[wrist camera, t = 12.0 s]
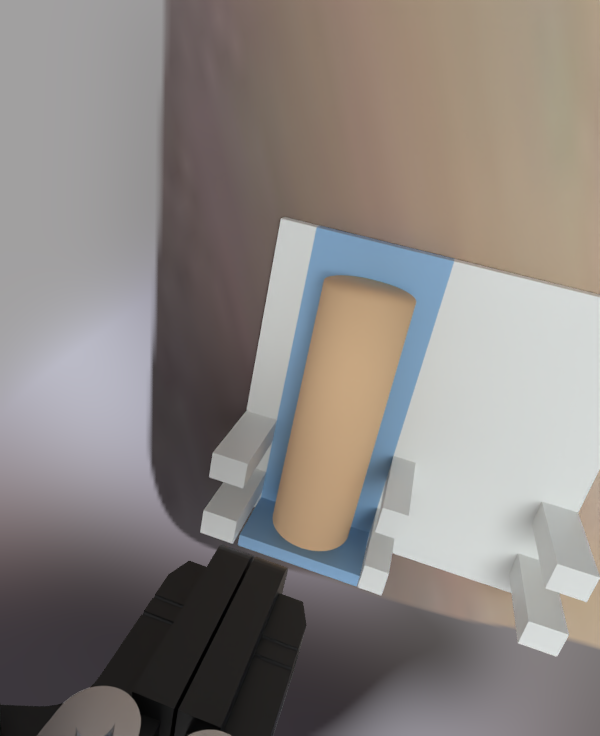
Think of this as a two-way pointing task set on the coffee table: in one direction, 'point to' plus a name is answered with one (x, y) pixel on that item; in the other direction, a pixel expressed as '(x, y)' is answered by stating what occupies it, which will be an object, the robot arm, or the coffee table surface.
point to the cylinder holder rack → (437, 428)
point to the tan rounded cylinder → (340, 408)
